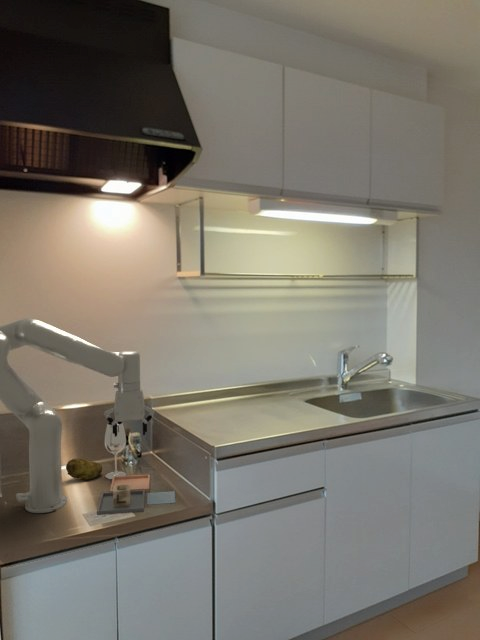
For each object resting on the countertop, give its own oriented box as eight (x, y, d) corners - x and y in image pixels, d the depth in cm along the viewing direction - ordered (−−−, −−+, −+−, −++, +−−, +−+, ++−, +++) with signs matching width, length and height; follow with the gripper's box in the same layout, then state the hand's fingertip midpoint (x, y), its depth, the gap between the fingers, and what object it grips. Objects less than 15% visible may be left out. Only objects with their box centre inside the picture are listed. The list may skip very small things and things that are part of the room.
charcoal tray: (97, 515, 153) (97, 511, 153) (102, 497, 167) (102, 492, 167) (143, 512, 155) (143, 508, 155) (144, 494, 169) (144, 490, 169)
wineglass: (120, 470, 191) (119, 419, 190) (130, 476, 185) (129, 423, 184) (101, 475, 186) (100, 422, 184) (111, 481, 180) (110, 427, 179)
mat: (147, 506, 160) (147, 504, 160) (147, 494, 169) (147, 493, 169) (175, 504, 161) (175, 502, 161) (174, 493, 170) (174, 491, 170)
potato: (104, 480, 181) (103, 458, 181) (66, 485, 177) (66, 463, 176) (101, 472, 189) (101, 451, 188) (65, 477, 184) (65, 456, 184)
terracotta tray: (110, 495, 168) (110, 491, 168) (113, 480, 181) (113, 476, 181) (149, 492, 170) (149, 488, 170) (149, 478, 183) (149, 474, 183)
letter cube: (113, 507, 158) (113, 491, 158) (114, 500, 163) (114, 485, 163) (129, 506, 159) (129, 490, 159) (130, 499, 164) (130, 484, 164)
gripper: (102, 389, 168) (103, 439, 170) (154, 387, 171) (155, 436, 173) (104, 385, 176) (105, 433, 177) (154, 383, 179) (155, 430, 180)
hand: (130, 434), depth 175 cm, fingers open, 9 cm apart
